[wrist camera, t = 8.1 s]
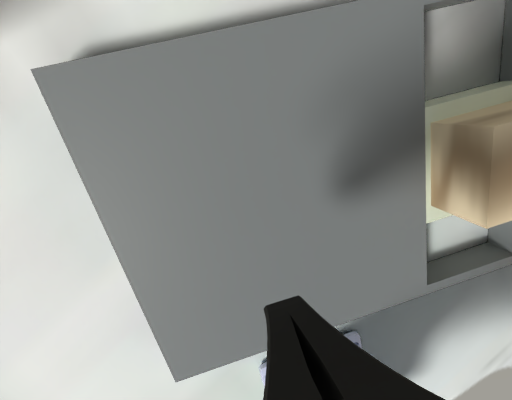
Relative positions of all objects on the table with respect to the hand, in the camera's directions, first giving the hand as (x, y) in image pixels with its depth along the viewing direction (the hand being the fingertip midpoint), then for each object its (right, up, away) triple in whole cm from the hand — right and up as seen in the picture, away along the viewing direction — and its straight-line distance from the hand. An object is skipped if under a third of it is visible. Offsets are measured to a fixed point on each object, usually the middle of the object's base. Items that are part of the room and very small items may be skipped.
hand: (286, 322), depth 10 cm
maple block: (+12, +7, +6) cm, 15 cm away
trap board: (+4, +6, +7) cm, 10 cm away
